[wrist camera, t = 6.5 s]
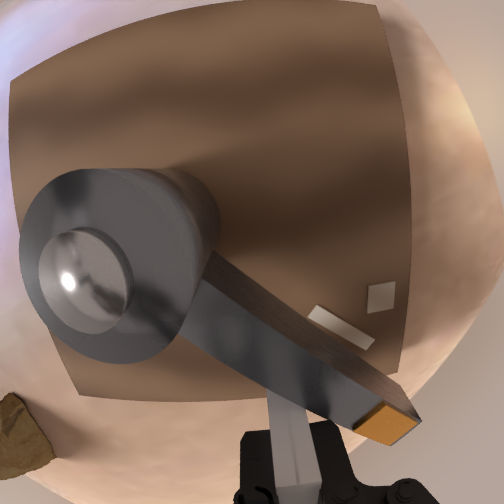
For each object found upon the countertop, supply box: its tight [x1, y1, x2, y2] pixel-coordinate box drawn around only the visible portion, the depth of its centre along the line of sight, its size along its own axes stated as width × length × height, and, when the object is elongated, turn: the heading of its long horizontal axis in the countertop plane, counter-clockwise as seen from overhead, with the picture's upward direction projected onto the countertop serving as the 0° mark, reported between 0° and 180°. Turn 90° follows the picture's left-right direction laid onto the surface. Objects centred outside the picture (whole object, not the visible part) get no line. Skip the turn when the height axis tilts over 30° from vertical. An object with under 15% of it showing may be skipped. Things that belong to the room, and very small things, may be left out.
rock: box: [0, 393, 56, 480], centre depth 18 cm, size 11×9×10 cm
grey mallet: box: [19, 168, 422, 446], centre depth 10 cm, size 17×5×8 cm, turn 51°
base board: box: [9, 0, 412, 402], centre depth 14 cm, size 22×22×2 cm
